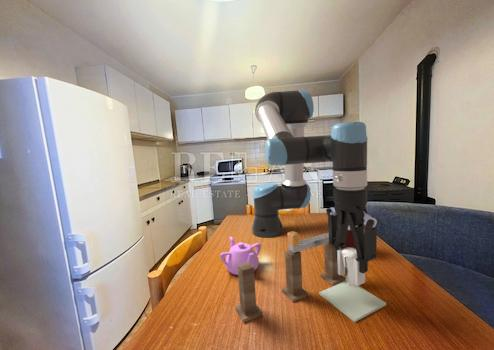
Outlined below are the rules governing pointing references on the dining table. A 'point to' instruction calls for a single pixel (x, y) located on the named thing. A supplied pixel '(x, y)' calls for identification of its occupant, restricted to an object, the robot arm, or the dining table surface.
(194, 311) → the dining table surface
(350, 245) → the mug
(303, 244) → the bar
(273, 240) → the dining table surface
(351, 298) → the mat
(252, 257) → the teapot
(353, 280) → the milkshake
